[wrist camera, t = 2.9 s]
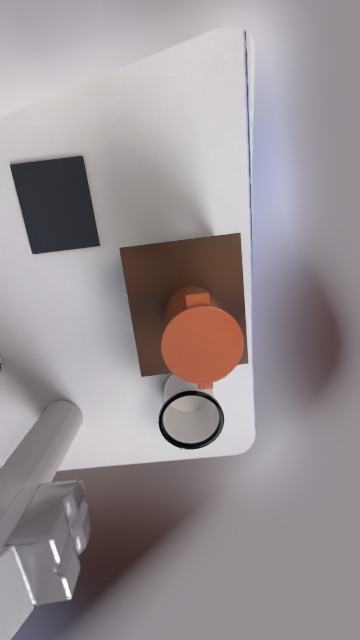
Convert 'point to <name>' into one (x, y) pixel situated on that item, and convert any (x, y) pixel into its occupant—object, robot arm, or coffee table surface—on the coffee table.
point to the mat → (56, 204)
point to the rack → (173, 274)
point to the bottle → (40, 451)
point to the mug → (189, 415)
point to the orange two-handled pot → (200, 337)
